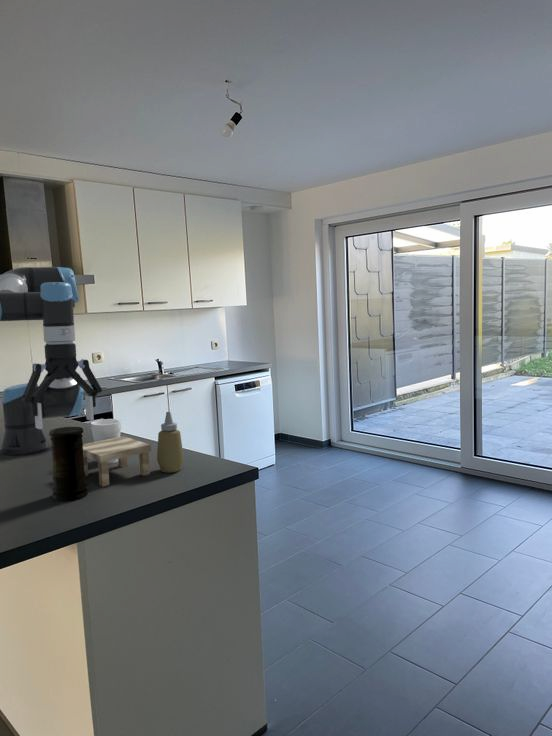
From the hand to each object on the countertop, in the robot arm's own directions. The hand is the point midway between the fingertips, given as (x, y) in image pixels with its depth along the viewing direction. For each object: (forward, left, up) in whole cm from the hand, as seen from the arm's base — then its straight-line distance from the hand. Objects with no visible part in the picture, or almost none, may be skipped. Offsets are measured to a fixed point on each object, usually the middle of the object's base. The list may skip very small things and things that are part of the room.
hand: (65, 424), depth 144 cm
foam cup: (-23, +23, -20) cm, 38 cm away
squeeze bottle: (+1, +31, -20) cm, 37 cm away
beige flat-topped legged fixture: (-8, +17, -20) cm, 27 cm away
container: (0, 0, -20) cm, 20 cm away
